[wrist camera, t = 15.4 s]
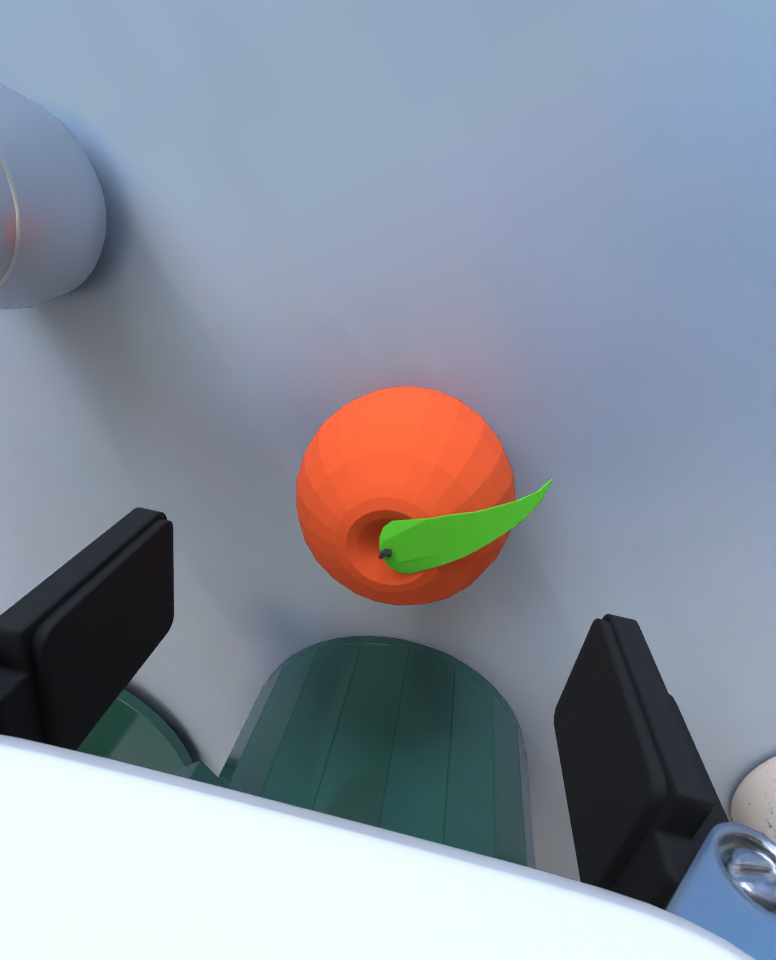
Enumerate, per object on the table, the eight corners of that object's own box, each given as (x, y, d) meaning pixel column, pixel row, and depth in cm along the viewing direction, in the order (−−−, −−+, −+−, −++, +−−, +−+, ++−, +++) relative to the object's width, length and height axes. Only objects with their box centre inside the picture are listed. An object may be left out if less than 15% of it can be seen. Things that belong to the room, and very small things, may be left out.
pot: (387, 545, 22) (321, 757, 13) (600, 825, 27) (659, 1119, 18) (172, 658, 27) (17, 869, 18) (385, 877, 32) (346, 1130, 23)
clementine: (516, 331, 18) (535, 384, 11) (556, 510, 20) (589, 637, 14) (302, 393, 20) (216, 466, 13) (361, 548, 22) (312, 673, 16)
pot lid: (70, 612, 27) (-50, 720, 21) (253, 793, 30) (197, 930, 24) (-72, 703, 32) (-200, 811, 26) (99, 848, 36) (22, 972, 30)
